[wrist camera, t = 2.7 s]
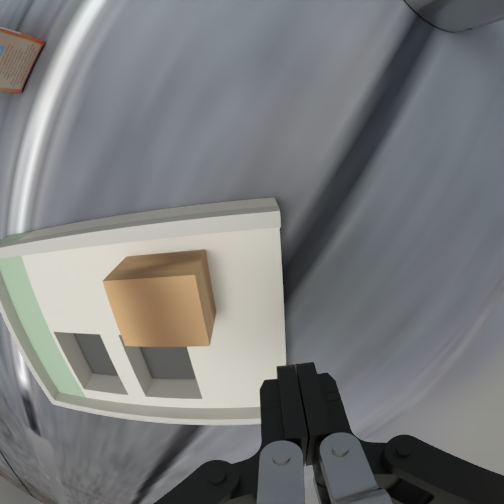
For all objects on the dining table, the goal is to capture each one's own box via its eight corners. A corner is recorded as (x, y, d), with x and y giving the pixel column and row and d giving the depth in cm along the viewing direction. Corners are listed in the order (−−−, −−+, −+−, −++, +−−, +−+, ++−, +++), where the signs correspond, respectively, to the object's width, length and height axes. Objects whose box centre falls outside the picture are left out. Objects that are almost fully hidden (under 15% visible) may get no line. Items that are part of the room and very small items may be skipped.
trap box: (274, 197, 21) (279, 210, 17) (284, 389, 28) (288, 421, 24) (5, 236, 22) (-22, 252, 18) (66, 381, 29) (52, 404, 25)
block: (205, 249, 19) (195, 274, 16) (216, 312, 21) (209, 346, 17) (126, 256, 20) (102, 281, 16) (142, 315, 21) (125, 346, 18)
